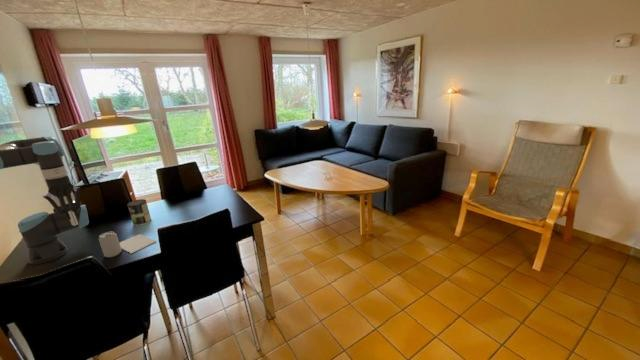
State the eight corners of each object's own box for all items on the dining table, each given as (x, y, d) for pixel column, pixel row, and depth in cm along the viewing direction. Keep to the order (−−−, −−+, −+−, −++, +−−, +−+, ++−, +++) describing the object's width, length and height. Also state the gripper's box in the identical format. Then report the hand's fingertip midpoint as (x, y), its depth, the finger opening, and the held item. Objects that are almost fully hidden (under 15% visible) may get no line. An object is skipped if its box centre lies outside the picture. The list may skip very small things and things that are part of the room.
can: (113, 258, 137) (105, 238, 133) (101, 257, 138) (93, 237, 134) (125, 250, 144) (119, 230, 140) (114, 249, 145) (107, 230, 141)
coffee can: (138, 227, 169) (132, 206, 165) (130, 223, 175) (124, 203, 170) (154, 220, 178) (149, 200, 173) (146, 217, 183) (141, 198, 178)
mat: (131, 254, 140) (131, 253, 140) (115, 245, 149) (115, 244, 149) (156, 241, 150) (156, 241, 150) (139, 234, 160) (139, 233, 159)
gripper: (38, 182, 111) (59, 232, 119) (78, 173, 122) (95, 220, 129) (33, 180, 115) (53, 229, 122) (72, 171, 125) (88, 217, 133)
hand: (75, 224), depth 126 cm, fingers closed
